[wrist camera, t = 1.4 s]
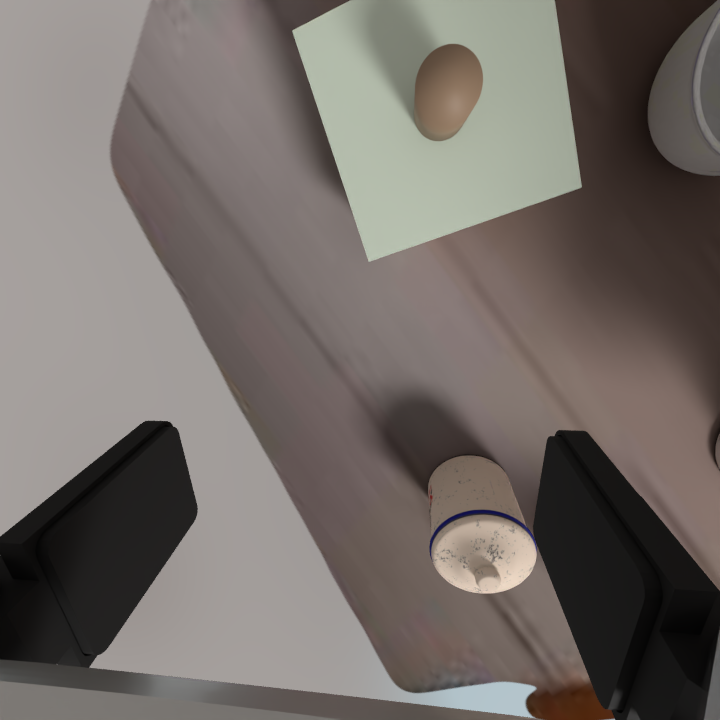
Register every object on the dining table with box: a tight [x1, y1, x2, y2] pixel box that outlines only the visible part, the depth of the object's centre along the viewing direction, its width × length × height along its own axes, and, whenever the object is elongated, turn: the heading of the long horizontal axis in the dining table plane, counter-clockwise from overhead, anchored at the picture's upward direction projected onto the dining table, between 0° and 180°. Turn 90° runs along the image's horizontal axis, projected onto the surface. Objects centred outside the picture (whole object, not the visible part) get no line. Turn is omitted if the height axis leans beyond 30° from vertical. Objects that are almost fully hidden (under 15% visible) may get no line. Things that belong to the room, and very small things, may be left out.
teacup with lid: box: [428, 455, 537, 593], centre depth 36 cm, size 12×9×12 cm
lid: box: [292, 0, 582, 262], centre depth 21 cm, size 14×14×6 cm
